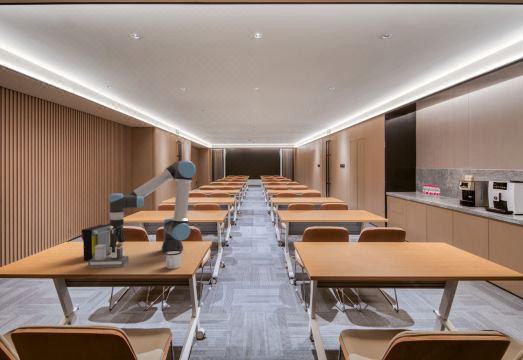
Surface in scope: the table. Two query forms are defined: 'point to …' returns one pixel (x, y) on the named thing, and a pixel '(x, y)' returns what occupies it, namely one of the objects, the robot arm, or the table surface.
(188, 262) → the table surface
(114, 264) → the pdu strip
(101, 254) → the white rectangular block
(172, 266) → the mug
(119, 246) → the plug
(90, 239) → the electrical component
